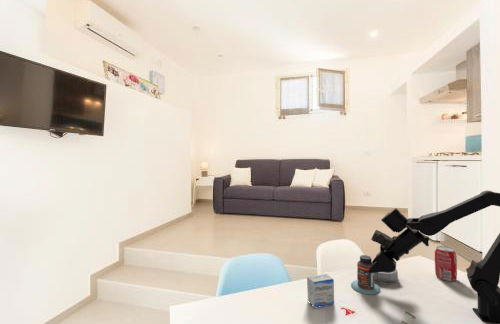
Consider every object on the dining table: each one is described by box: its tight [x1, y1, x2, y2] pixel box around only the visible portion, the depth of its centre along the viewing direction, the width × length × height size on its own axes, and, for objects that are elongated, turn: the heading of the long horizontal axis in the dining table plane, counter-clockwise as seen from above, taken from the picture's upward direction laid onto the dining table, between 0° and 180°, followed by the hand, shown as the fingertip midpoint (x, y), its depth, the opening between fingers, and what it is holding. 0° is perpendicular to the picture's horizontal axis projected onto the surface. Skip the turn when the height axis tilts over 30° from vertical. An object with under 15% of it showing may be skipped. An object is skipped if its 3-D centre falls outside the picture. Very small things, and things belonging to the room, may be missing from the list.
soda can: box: [434, 245, 458, 282], centre depth 101 cm, size 7×7×12 cm
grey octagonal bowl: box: [374, 268, 399, 285], centre depth 103 cm, size 11×11×4 cm
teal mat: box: [350, 279, 381, 295], centre depth 95 cm, size 10×10×1 cm
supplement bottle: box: [356, 254, 375, 290], centre depth 95 cm, size 6×6×11 cm
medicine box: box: [306, 274, 335, 308], centre depth 86 cm, size 8×4×9 cm, turn 106°
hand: (371, 267), depth 94 cm, fingers open, 9 cm apart
